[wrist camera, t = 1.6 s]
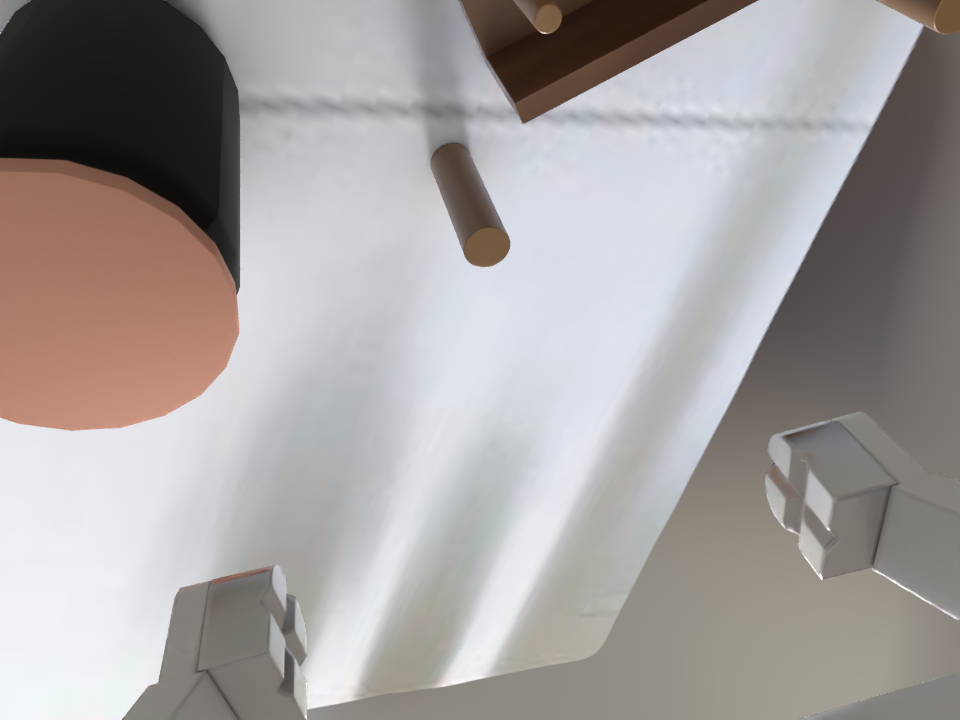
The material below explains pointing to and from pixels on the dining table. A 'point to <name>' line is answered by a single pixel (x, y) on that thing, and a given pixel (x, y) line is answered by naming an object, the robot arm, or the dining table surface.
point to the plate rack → (578, 41)
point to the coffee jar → (114, 213)
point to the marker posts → (934, 3)
